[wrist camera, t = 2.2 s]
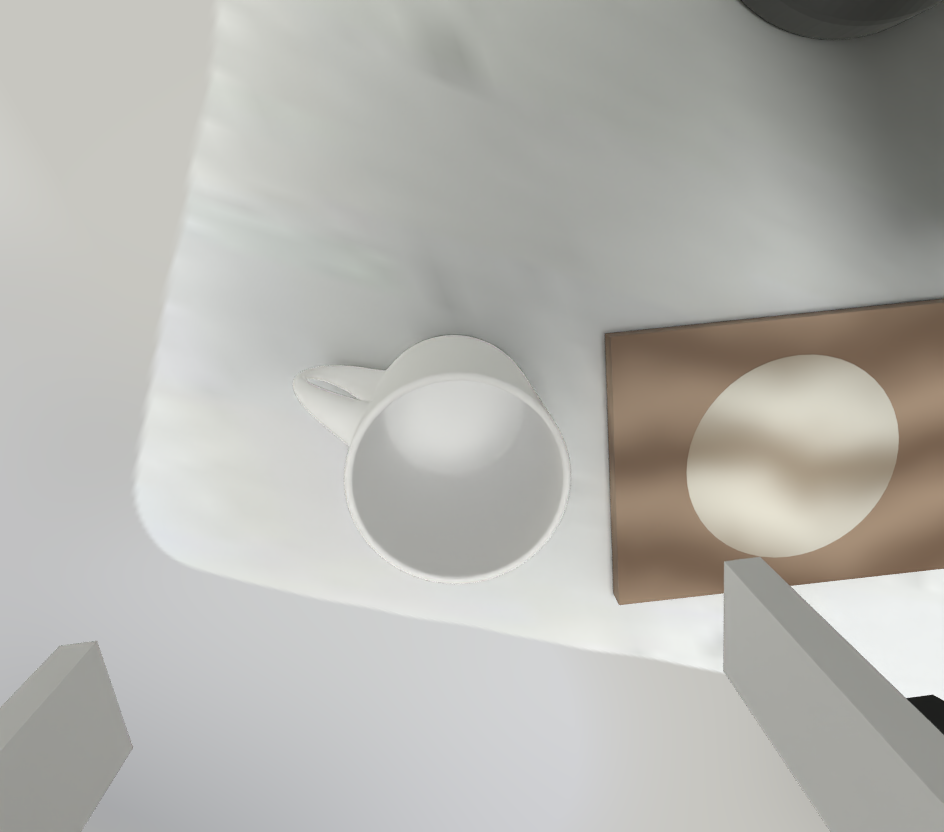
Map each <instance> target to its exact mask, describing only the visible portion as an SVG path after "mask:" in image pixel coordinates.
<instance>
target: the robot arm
mask: <svg viewBox="0 0 944 832" xmlns="http://www.w3.org/2000/svg"><path fill="white" fill-rule="evenodd" d="M741 1H742V2H743V3H744V4H745V5H747V6H748V7H749V8H750V9H751V10H752V11H754V12H755V13H756V14H757V15H759V16H760V17H762V18H763V19H765V20H766V21H768V22H769V23H771V24H773V25H775V26H777V27H779V28H781V29H783V30H786V31H788V32H791V33H794V34H797V35H801V36H805V37H810V38H816V39H828V40H838V39H850V38H857V37H862V36H866V35H870V34H874V33H877V32H880V31H883V30H885V29H888V28H890V27H893V26H895V25H897V24H899V23H901V22H903V21H905V20H907V19H909V18H911V17H913V16H915V15H917V14H919V13H921V12H923V11H925V10H927V9H929V8H931V7H933V6H935V5H937V4H939V3H940V2H942V1H944V0H741ZM723 671H724V673H725V674H726V676H727V677H728V679H729V680H730V682H731V683H732V685H733V686H734V688H735V689H736V691H737V692H738V694H739V695H740V697H741V698H742V700H743V701H744V703H745V704H746V706H747V707H748V709H749V710H750V712H751V713H752V715H753V716H754V718H755V719H756V721H757V722H758V724H759V725H760V727H761V728H762V730H763V731H764V733H765V734H766V736H767V737H768V739H769V740H770V742H771V743H772V745H773V746H774V748H775V749H776V751H777V752H778V754H779V755H780V757H781V758H782V760H783V761H784V763H785V764H786V766H787V767H788V769H789V770H790V772H791V773H792V775H793V776H794V778H795V779H796V781H797V782H798V784H799V785H800V787H801V788H802V790H803V791H804V793H805V794H806V796H807V797H808V799H809V800H810V802H811V803H812V805H813V806H814V808H815V809H816V811H817V812H818V814H819V815H820V817H821V818H822V820H823V821H824V823H825V824H826V826H827V827H828V829H829V830H830V832H944V701H943V700H941V699H940V698H938V697H936V696H934V695H927V696H920V697H912V698H905V697H904V696H903V695H902V694H901V693H900V692H899V691H898V690H897V689H896V688H895V687H894V686H893V685H892V684H891V683H890V682H889V681H888V680H887V679H886V678H885V677H884V676H882V675H881V674H880V673H879V672H878V671H877V670H876V669H875V668H874V667H873V666H872V665H871V664H870V663H869V662H868V661H867V660H866V659H865V658H864V657H863V656H862V655H861V654H860V653H859V652H858V651H857V650H856V649H855V648H854V647H853V646H852V645H850V644H849V643H848V642H847V641H846V640H845V639H844V638H843V637H842V636H841V635H840V634H839V633H838V632H837V631H836V630H835V629H834V628H833V627H832V626H831V625H830V624H829V623H828V622H827V621H826V620H825V619H824V618H823V617H822V616H821V615H820V614H818V613H817V612H816V611H815V610H814V609H813V608H812V607H811V606H810V605H809V604H808V603H807V602H806V601H805V600H804V599H803V598H802V597H801V596H800V595H799V594H798V593H797V592H796V591H795V590H794V589H793V588H792V587H791V586H790V585H789V584H788V583H786V582H785V581H784V580H783V579H782V578H781V577H780V576H779V575H778V574H777V573H776V572H775V571H774V570H773V569H772V568H771V567H770V566H769V565H768V564H767V563H766V562H765V561H764V560H763V559H762V558H761V557H755V558H747V559H739V560H731V561H724V644H723ZM132 749H133V746H132V744H131V740H130V737H129V734H128V731H127V728H126V726H125V723H124V719H123V717H122V714H121V710H120V707H119V705H118V702H117V699H116V696H115V693H114V690H113V687H112V684H111V681H110V678H109V675H108V672H107V669H106V666H105V663H104V660H103V657H102V654H101V651H100V648H99V645H98V642H97V641H92V642H84V643H77V644H70V645H61V646H59V647H58V648H57V649H56V650H55V651H54V652H53V653H52V654H51V655H50V656H49V657H48V659H47V660H46V661H45V662H44V663H43V664H42V665H41V666H40V667H39V668H38V669H37V670H36V671H35V672H34V673H33V674H32V675H31V676H30V677H29V678H28V679H27V680H26V681H25V682H24V684H23V685H22V686H21V687H20V688H19V689H18V690H17V691H16V692H15V693H14V694H13V695H12V696H11V697H10V698H9V699H8V700H7V701H6V702H5V703H4V704H3V705H2V706H1V708H0V832H81V831H82V830H83V828H84V826H85V825H86V823H87V822H88V820H89V818H90V817H91V815H92V814H93V812H94V810H95V809H96V807H97V805H98V804H99V802H100V801H101V799H102V797H103V796H104V794H105V792H106V791H107V789H108V788H109V786H110V784H111V783H112V781H113V779H114V778H115V776H116V775H117V773H118V771H119V770H120V768H121V766H122V765H123V763H124V762H125V760H126V758H127V757H128V755H129V754H130V752H131V750H132Z"/></svg>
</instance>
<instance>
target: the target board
mask: <svg viewBox="0 0 944 832" xmlns="http://www.w3.org/2000/svg"><path fill="white" fill-rule="evenodd" d="M605 351H606V381H607V411H608V441H609V471H610V501H611V531H612V561H613V592H614V596H615V598H616V600H617V602H618V604H619V605H624V604H633V603H642V602H650V601H659V600H668V599H677V598H686V597H695V596H704V595H713V594H721V593H724V561H731V560H739V559H747V558H755V557H761V558H762V559H763V560H764V561H765V562H766V563H767V564H768V565H769V566H770V567H771V568H772V569H773V570H774V571H775V572H776V573H777V574H778V575H779V576H780V577H781V578H782V579H783V580H784V581H785V582H786V583H788V584H789V585H790V586H793V585H801V584H810V583H819V582H828V581H837V580H846V579H855V578H864V577H872V576H881V575H890V574H899V573H908V572H917V571H926V570H935V569H944V299H937V300H927V301H917V302H907V303H898V304H888V305H878V306H869V307H859V308H849V309H839V310H830V311H820V312H810V313H801V314H791V315H781V316H771V317H762V318H752V319H742V320H733V321H723V322H713V323H704V324H694V325H684V326H674V327H665V328H655V329H645V330H636V331H626V332H616V333H606V334H605Z"/></svg>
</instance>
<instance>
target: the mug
mask: <svg viewBox="0 0 944 832" xmlns="http://www.w3.org/2000/svg"><path fill="white" fill-rule="evenodd" d="M307 379H316V380H321V381H324V382H327V383H330V384H332V385H335V386H337V387H339V388H341V389H343V390H345V391H347V392H348V393H350V394H352V395H353V396H355V397H356V398H358V399H355V398H351V397H347V396H344V395H340V394H337V393H334V392H331V391H329V390H326V389H323V388H321V387H318V386H316V385H314V384H312V383H310V382H308V381H307ZM293 389H294V393H295V395H296V397H297V398H298V400H299V402H300V403H301V404H302V406H303V407H304V408H305V409H306V410H307V411H308V412H309V413H310V414H311V415H312V416H313V417H314V418H315V419H316V420H317V421H318V422H320V423H321V424H322V425H323V426H324V427H325V428H327V429H328V430H329V431H330V432H332V433H333V434H334V435H335V436H337V437H338V438H339V439H340V440H342V441H343V442H344V443H345V444H346V445H347V446H348V447H349V450H348V453H347V458H346V463H345V471H344V487H345V496H346V500H347V505H348V509H349V511H350V514H351V516H352V519H353V521H354V523H355V525H356V527H357V529H358V530H359V532H360V534H361V535H362V537H363V538H364V539H365V541H366V542H367V543H368V545H369V546H370V547H371V548H372V549H373V550H374V551H375V552H376V553H377V554H378V555H379V556H380V557H382V558H383V559H384V560H386V561H387V562H388V563H389V564H391V565H393V566H394V567H396V568H398V569H399V570H401V571H403V572H405V573H407V574H410V575H412V576H414V577H417V578H421V579H424V580H427V581H432V582H438V583H447V584H467V583H474V582H480V581H485V580H488V579H492V578H495V577H498V576H500V575H503V574H505V573H508V572H510V571H512V570H513V569H515V568H517V567H519V566H520V565H522V564H523V563H525V562H526V561H527V560H529V559H530V558H531V557H533V556H534V555H535V554H536V553H537V552H538V551H539V550H540V549H541V548H542V547H543V546H544V545H545V544H546V542H547V541H548V540H549V539H550V537H551V536H552V535H553V533H554V531H555V530H556V528H557V527H558V525H559V523H560V521H561V519H562V516H563V514H564V512H565V509H566V506H567V502H568V499H569V493H570V487H571V467H570V459H569V454H568V451H567V447H566V444H565V441H564V439H563V436H562V434H561V432H560V430H559V428H558V427H557V425H556V423H555V422H554V420H553V418H552V417H551V415H550V414H549V412H548V411H547V409H546V407H545V406H544V404H543V403H542V401H541V400H540V398H539V397H538V395H537V394H536V392H535V391H534V389H533V387H532V386H531V384H530V383H529V381H528V380H527V378H526V377H525V375H524V374H523V372H522V371H521V369H520V368H519V367H518V366H517V364H516V363H515V362H514V361H513V360H512V359H511V358H510V357H509V356H508V355H507V354H506V353H504V352H503V351H501V350H500V349H499V348H497V347H496V346H494V345H492V344H490V343H488V342H486V341H483V340H480V339H478V338H474V337H469V336H462V335H444V336H438V337H433V338H430V339H427V340H424V341H422V342H419V343H417V344H415V345H413V346H412V347H410V348H409V349H407V350H406V351H404V352H403V353H402V354H401V355H400V356H399V357H398V358H397V359H396V360H395V361H394V362H393V363H392V364H391V365H390V366H389V368H388V369H387V370H377V369H371V368H365V367H357V366H346V365H327V366H319V367H313V368H310V369H306V370H304V371H302V372H300V373H298V374H297V375H296V376H295V378H294V380H293Z"/></svg>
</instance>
